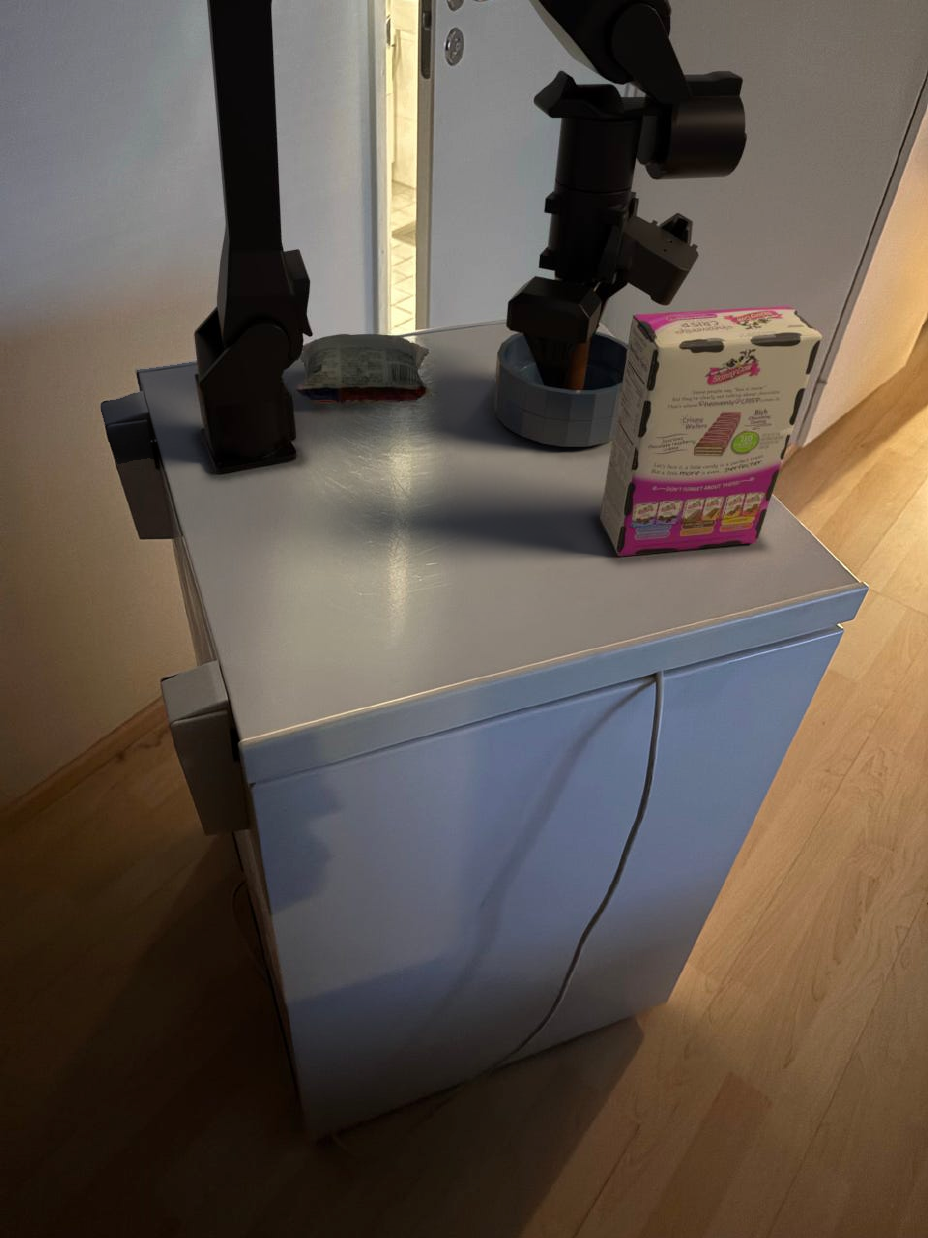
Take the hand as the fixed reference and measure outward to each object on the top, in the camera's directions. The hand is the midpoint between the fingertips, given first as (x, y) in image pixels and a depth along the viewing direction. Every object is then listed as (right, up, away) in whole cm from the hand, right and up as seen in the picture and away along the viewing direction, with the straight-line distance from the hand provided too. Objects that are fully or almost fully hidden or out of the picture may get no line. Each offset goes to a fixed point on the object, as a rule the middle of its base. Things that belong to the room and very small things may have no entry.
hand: (567, 375), depth 76 cm
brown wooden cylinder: (0, -2, +2) cm, 3 cm away
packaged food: (-18, 0, +5) cm, 19 cm away
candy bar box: (+7, -14, -9) cm, 18 cm away
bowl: (0, -3, +3) cm, 4 cm away
